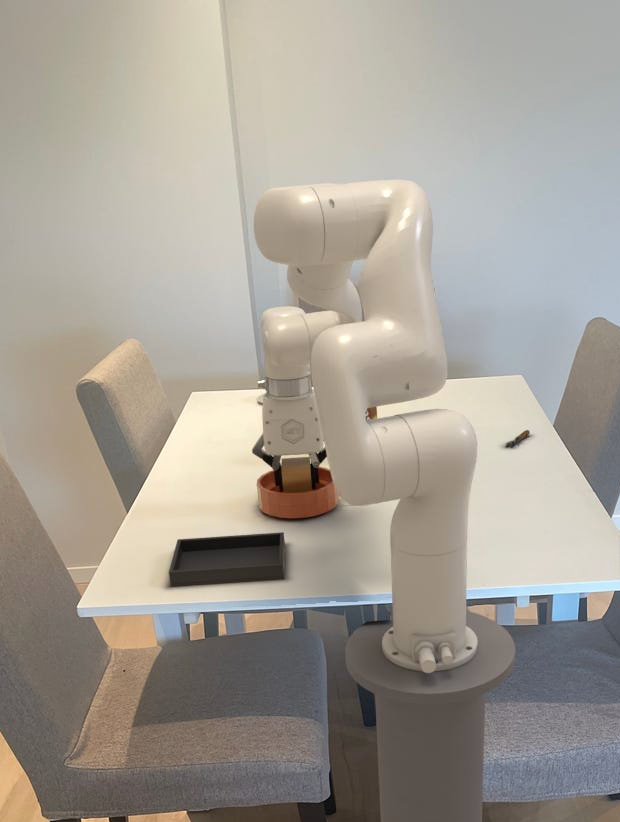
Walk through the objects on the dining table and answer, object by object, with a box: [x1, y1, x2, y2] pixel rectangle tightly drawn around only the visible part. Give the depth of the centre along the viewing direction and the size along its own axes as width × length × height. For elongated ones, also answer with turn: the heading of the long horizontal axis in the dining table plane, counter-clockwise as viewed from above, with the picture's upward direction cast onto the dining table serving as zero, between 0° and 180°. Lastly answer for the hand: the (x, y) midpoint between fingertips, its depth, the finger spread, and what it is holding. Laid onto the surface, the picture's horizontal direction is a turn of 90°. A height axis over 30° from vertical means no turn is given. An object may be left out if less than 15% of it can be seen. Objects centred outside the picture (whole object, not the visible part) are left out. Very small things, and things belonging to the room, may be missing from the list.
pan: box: [168, 531, 286, 587], centre depth 145 cm, size 12×17×2 cm
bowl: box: [256, 466, 340, 519], centre depth 165 cm, size 14×14×5 cm
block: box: [280, 456, 312, 493], centre depth 163 cm, size 5×5×5 cm
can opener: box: [505, 429, 531, 447], centre depth 189 cm, size 9×2×1 cm, turn 140°
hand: (297, 487), depth 164 cm, fingers closed on block, 5 cm apart
